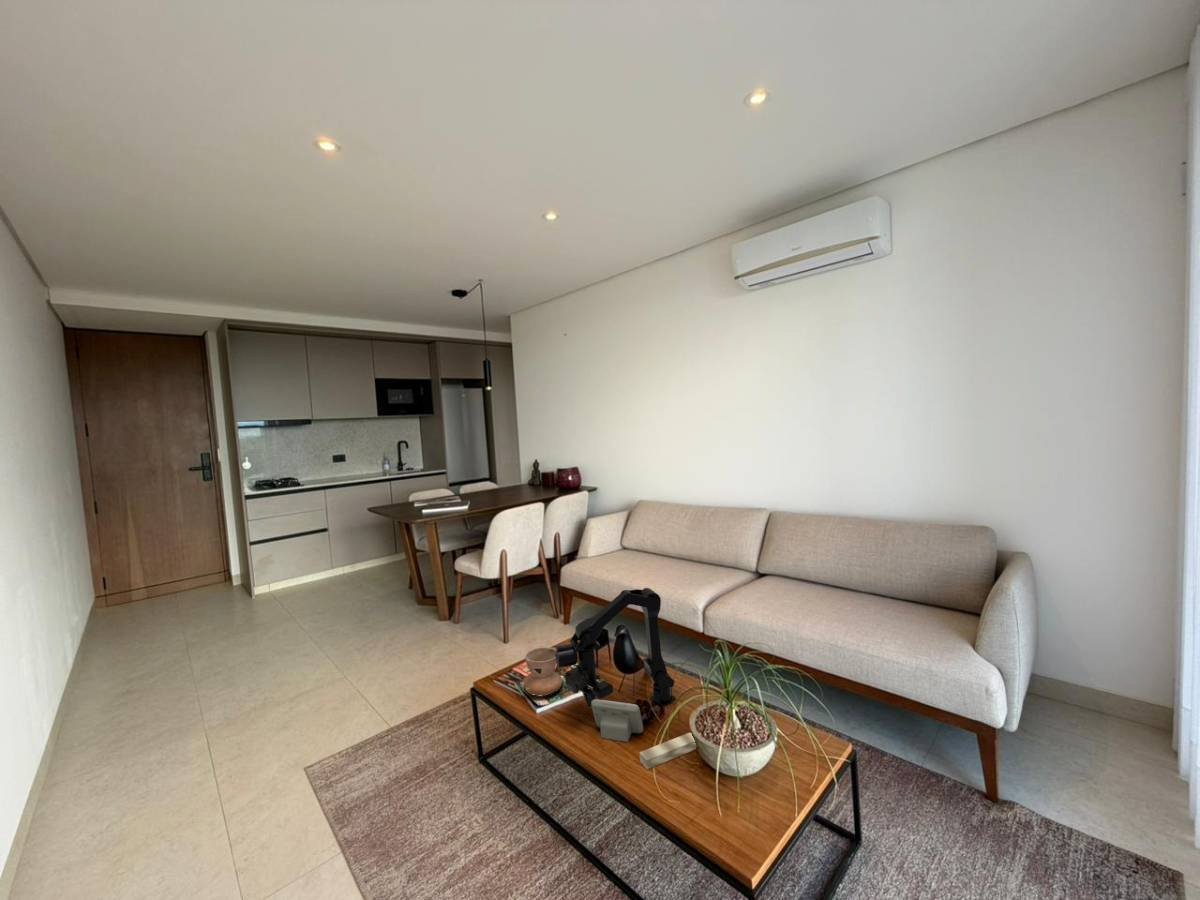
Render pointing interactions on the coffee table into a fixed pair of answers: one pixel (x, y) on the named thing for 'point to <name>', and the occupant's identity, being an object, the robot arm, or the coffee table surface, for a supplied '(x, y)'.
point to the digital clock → (617, 719)
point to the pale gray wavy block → (667, 750)
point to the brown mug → (542, 671)
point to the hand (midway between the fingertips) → (590, 706)
